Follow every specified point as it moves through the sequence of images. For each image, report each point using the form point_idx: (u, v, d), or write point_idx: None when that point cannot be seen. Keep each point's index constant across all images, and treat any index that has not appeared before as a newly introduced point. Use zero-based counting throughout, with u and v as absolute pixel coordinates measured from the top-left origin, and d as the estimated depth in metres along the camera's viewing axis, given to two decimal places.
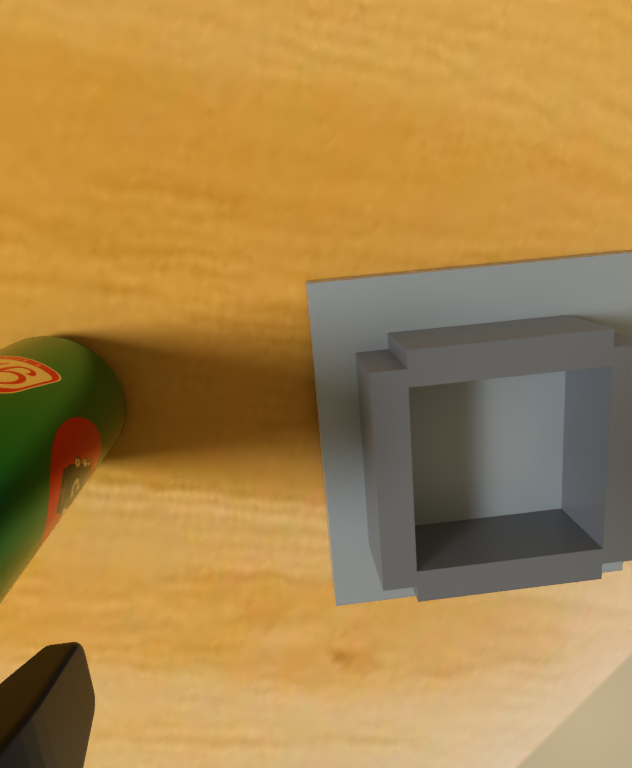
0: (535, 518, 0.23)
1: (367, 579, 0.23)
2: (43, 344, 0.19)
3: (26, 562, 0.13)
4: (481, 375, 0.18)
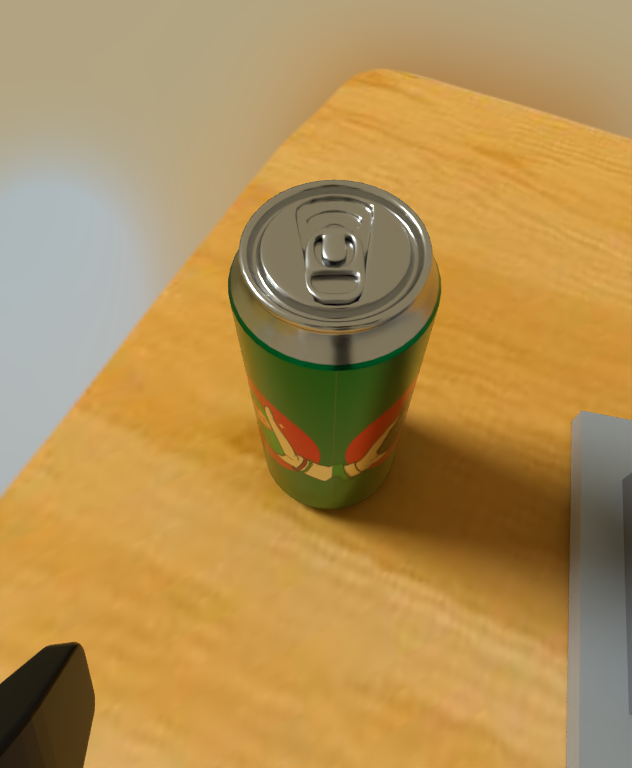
0: None
1: None
2: None
3: (408, 377, 0.14)
4: None
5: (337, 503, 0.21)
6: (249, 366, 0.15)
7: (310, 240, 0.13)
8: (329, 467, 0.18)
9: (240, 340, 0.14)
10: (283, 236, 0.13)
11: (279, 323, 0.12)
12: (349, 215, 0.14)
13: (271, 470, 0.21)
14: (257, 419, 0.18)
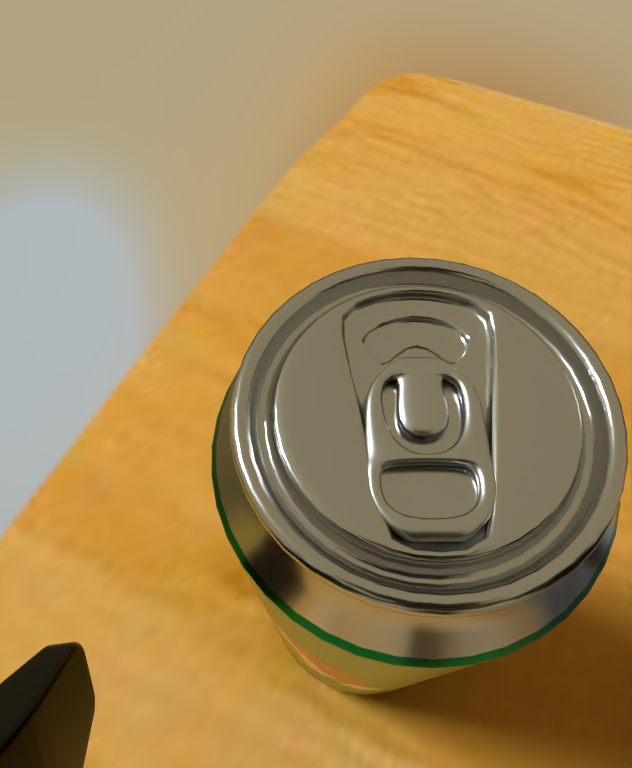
0: None
1: None
2: None
3: None
4: None
5: (378, 693, 0.14)
6: None
7: (373, 384, 0.07)
8: (377, 688, 0.11)
9: None
10: (320, 378, 0.06)
11: (315, 577, 0.06)
12: (441, 326, 0.07)
13: None
14: None
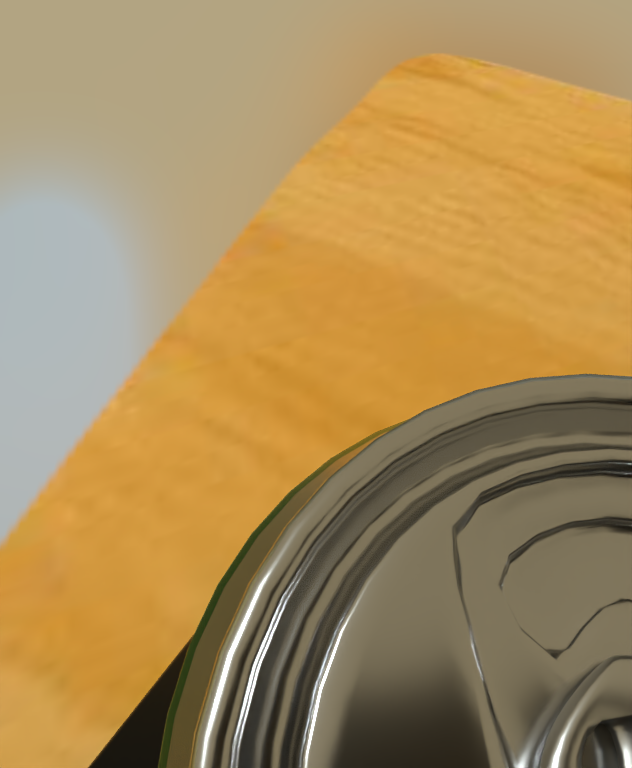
0: None
1: None
2: None
3: None
4: None
5: None
6: None
7: (550, 735, 0.03)
8: None
9: None
10: (414, 736, 0.02)
11: None
12: None
13: None
14: None
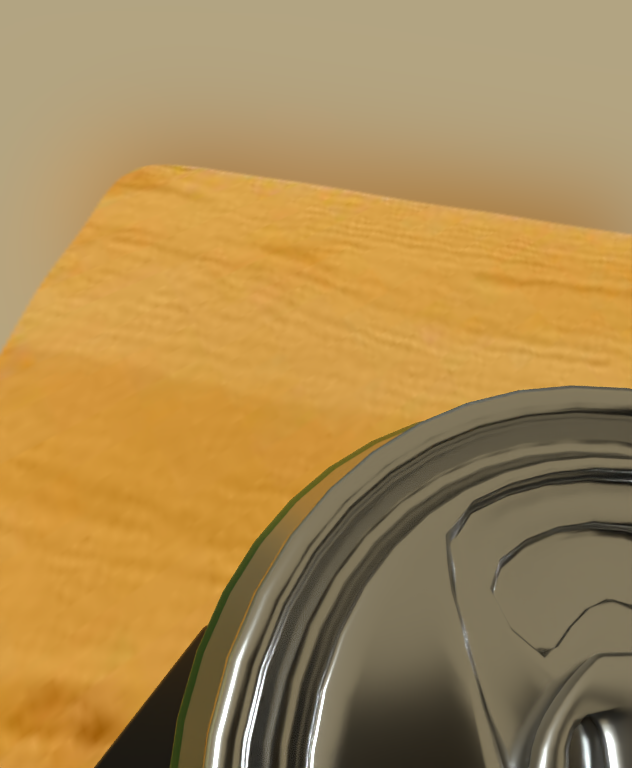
0: None
1: None
2: None
3: None
4: None
5: None
6: None
7: (539, 729, 0.03)
8: None
9: None
10: (414, 733, 0.03)
11: None
12: None
13: None
14: None
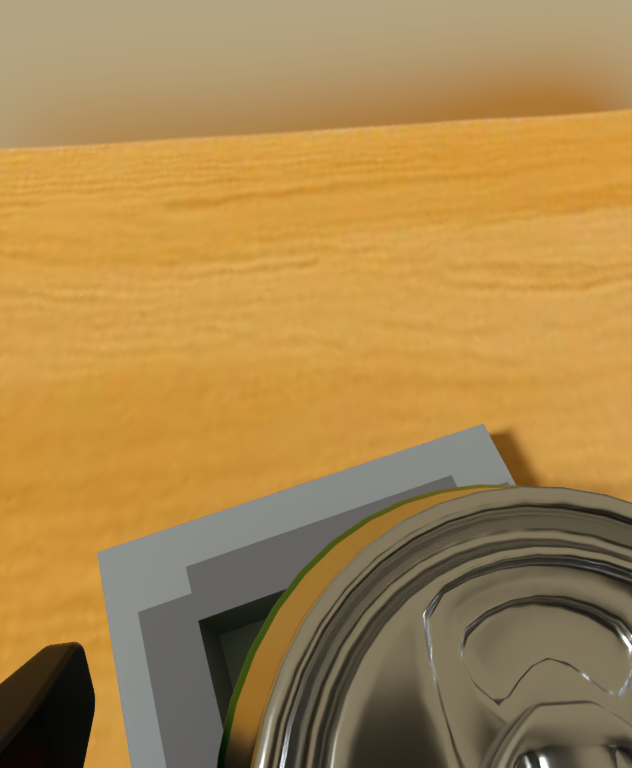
0: None
1: None
2: None
3: None
4: None
5: None
6: None
7: (493, 760, 0.04)
8: None
9: None
10: None
11: None
12: (584, 610, 0.04)
13: None
14: None
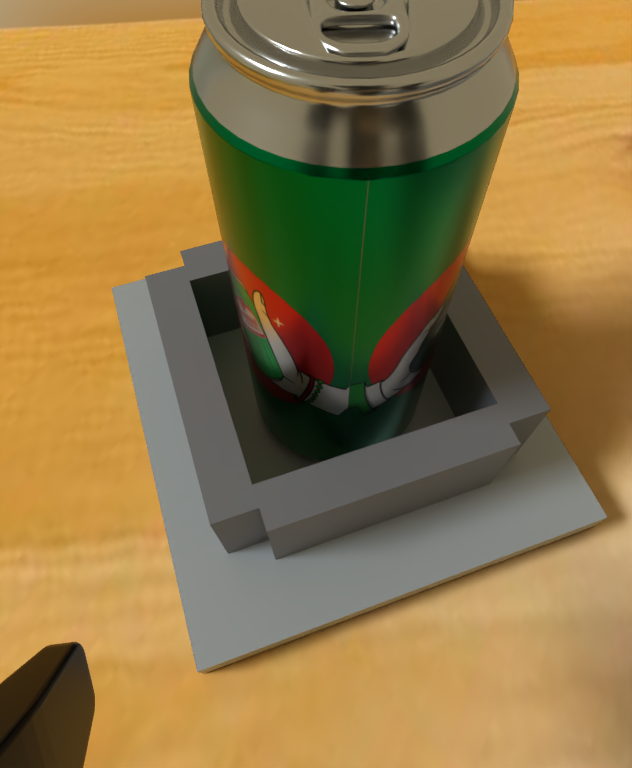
0: None
1: (237, 611, 0.15)
2: None
3: (467, 223, 0.10)
4: None
5: None
6: (228, 220, 0.10)
7: None
8: (345, 390, 0.13)
9: (212, 172, 0.09)
10: None
11: (272, 100, 0.07)
12: None
13: (265, 415, 0.17)
14: (243, 333, 0.14)
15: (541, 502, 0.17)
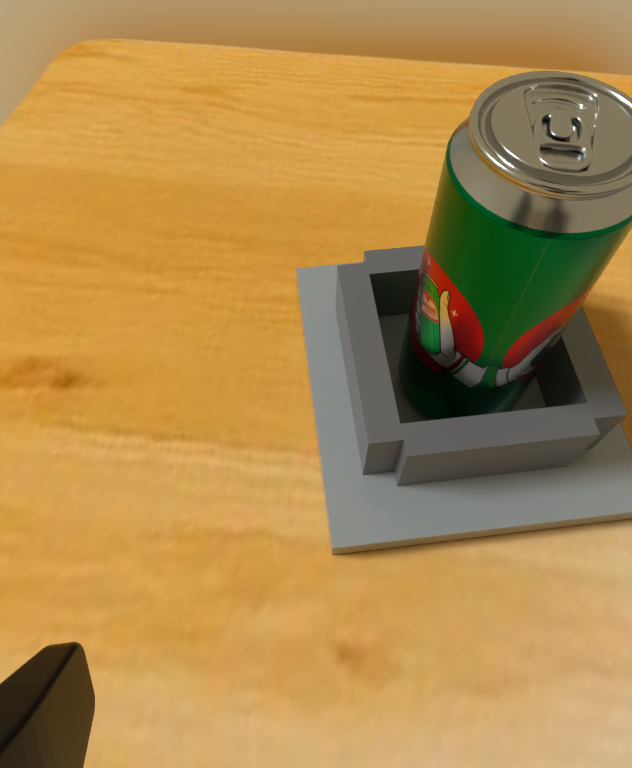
0: None
1: (365, 515, 0.21)
2: None
3: (598, 271, 0.15)
4: None
5: None
6: (444, 243, 0.16)
7: (537, 119, 0.14)
8: (483, 369, 0.18)
9: (444, 214, 0.15)
10: (513, 111, 0.14)
11: (504, 185, 0.13)
12: (572, 104, 0.14)
13: (406, 381, 0.22)
14: (416, 318, 0.19)
15: (605, 487, 0.22)
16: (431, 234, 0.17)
